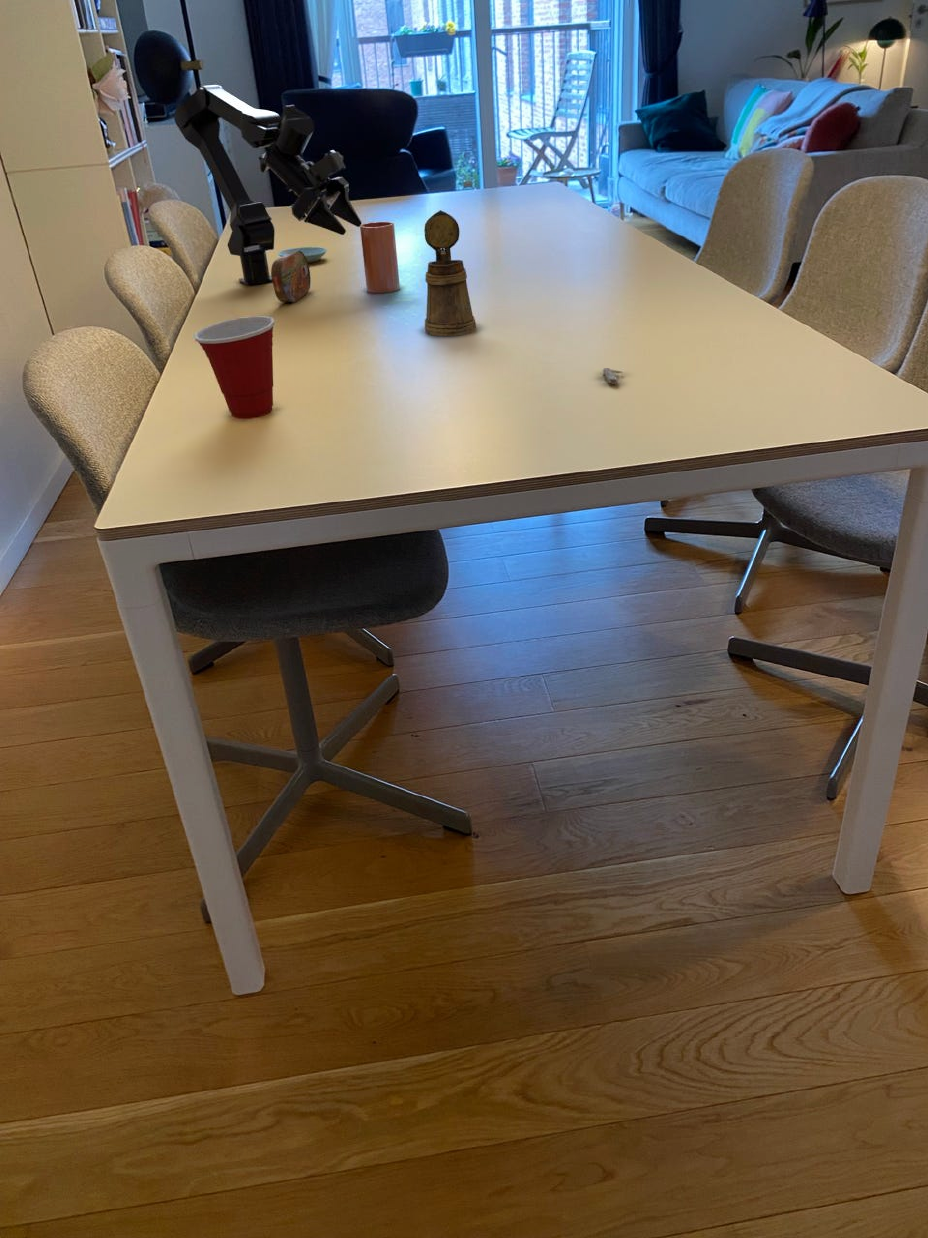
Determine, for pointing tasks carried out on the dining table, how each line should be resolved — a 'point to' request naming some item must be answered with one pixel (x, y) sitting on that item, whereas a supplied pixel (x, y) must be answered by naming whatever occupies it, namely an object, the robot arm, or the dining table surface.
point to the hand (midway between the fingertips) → (352, 229)
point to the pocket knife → (610, 375)
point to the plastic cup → (242, 363)
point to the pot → (380, 257)
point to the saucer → (307, 253)
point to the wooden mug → (446, 281)
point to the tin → (291, 276)
